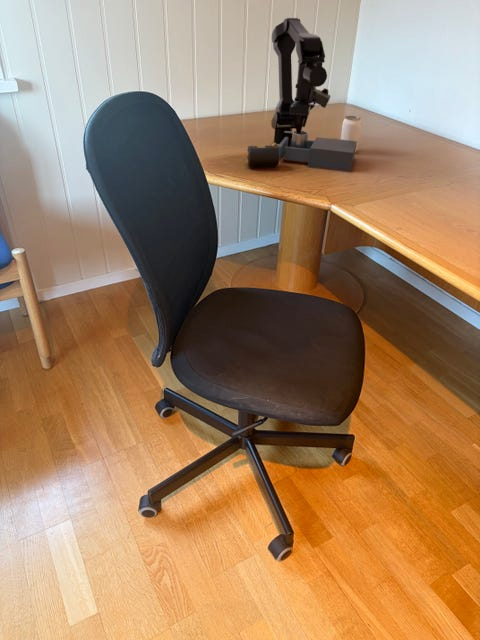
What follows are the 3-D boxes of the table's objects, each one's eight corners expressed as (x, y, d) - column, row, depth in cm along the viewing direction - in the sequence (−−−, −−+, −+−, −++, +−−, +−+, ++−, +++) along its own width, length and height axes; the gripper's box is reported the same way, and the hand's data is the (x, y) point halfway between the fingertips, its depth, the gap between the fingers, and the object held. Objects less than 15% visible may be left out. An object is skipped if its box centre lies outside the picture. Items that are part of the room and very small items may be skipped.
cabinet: (308, 166, 169) (310, 147, 165) (314, 155, 179) (316, 137, 176) (350, 171, 166) (353, 152, 162) (353, 159, 176) (356, 141, 173)
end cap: (249, 171, 163) (250, 150, 159) (245, 164, 169) (246, 144, 165) (278, 170, 165) (280, 150, 161) (274, 163, 170) (275, 143, 166)
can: (356, 154, 181) (361, 120, 174) (338, 153, 182) (343, 119, 175) (356, 149, 186) (361, 116, 179) (339, 148, 187) (344, 115, 180)
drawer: (266, 159, 172) (267, 145, 169) (274, 148, 182) (275, 135, 179) (314, 164, 168) (316, 150, 165) (320, 153, 178) (321, 140, 175)
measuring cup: (281, 154, 173) (283, 132, 169) (284, 150, 177) (286, 129, 173) (304, 156, 171) (306, 135, 167) (306, 152, 175) (309, 131, 171)
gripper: (326, 88, 151) (320, 139, 160) (334, 77, 166) (327, 125, 175) (291, 85, 153) (287, 136, 163) (301, 75, 168) (297, 122, 177)
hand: (301, 130), depth 169 cm, fingers open, 9 cm apart
